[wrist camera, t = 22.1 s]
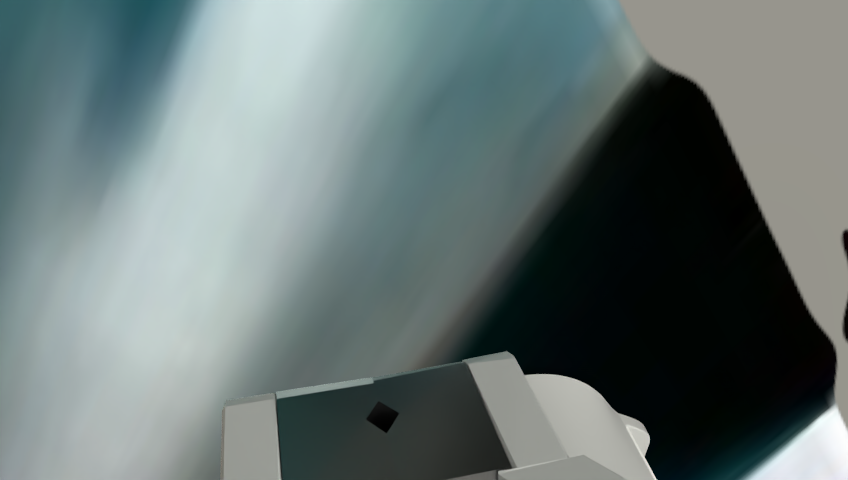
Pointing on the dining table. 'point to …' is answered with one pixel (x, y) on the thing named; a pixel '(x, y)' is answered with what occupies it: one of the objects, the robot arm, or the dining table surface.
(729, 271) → the dining table surface
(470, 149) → the dining table surface
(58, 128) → the dining table surface
